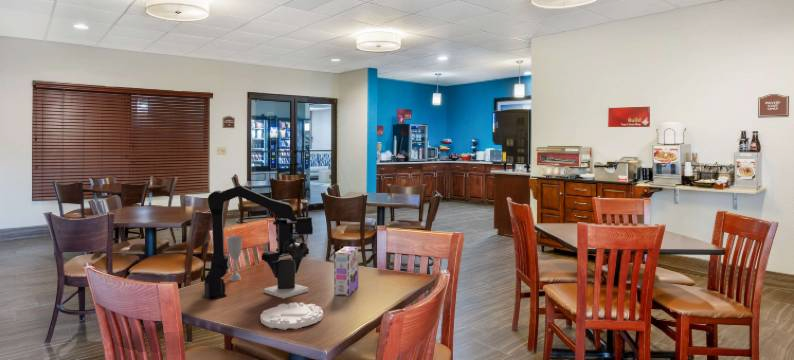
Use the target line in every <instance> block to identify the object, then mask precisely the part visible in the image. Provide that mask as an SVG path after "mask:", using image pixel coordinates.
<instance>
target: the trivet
mask: <svg viewBox="0 0 794 360" xmlns="http://www.w3.org/2000/svg"><path fill="white" fill-rule="evenodd" d="M307 292H309V287H307V286H305V285H300V284H297V283H295V288H288V289H278V288H277V285H273V286H269V287H265V288H263V293H265V294H267V295H270V296H275V297H278V298H280V299H286V298H291V297H294V296H297V295H300V294H304V293H307Z"/></svg>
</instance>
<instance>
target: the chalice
mask: <svg viewBox="0 0 794 360" xmlns="http://www.w3.org/2000/svg"><path fill="white" fill-rule="evenodd" d="M225 240H226V242H227V243H226V244H227V246H226V249H227V252H228V255H230V258H231V259H232V260H233V268H232V269H233V273H232V274H231V275H230V276H229V281H230V282H236V281H238V282H239V281H241V280H242V278H241V275H240V274H239V273H238V272H237V269H238V267H237V265H238V264H237V259H239V257H240V256H241V253H242V249H243V243H242V242H243V236H241V235H233V236H226V238H225Z"/></svg>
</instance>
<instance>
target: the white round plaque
mask: <svg viewBox="0 0 794 360" xmlns="http://www.w3.org/2000/svg"><path fill="white" fill-rule="evenodd" d="M323 317H324V311H323V308H322V307H321V306H319V305H316V304H315V303H309V304H305V302H299V303H298V302H288V304H286V303H280V304H278V305H277V306H275V307H270V308H268V309H265V310H263V311H262V313H261V314H260V324H262V325H264V326H265V327H268V328H270V329H272V328H273V329H278V330H287V329H293V330H297V329H298V328H300V329H302V327H307V326H310V325H313V324H316V323H319V322H320V321H322V319H323ZM318 321H319V322H318Z"/></svg>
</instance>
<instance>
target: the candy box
mask: <svg viewBox="0 0 794 360" xmlns="http://www.w3.org/2000/svg"><path fill="white" fill-rule="evenodd" d="M333 254H334V259H333V260H334V263H333V265H334V266H333V269H334V272H333V273H334V274H333V275H334V277H333V278H334V281H333V282H334V283H333V285H334V295H335V296H343V297H344V296H345V297H349V296H350V295H351V294H352V293H353V292H354V291H355V290H356V289H357V288H358V287H359V247H358V246H344V247H343V248H340V249H339V250H337V251H336V252H334V253H333Z"/></svg>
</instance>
